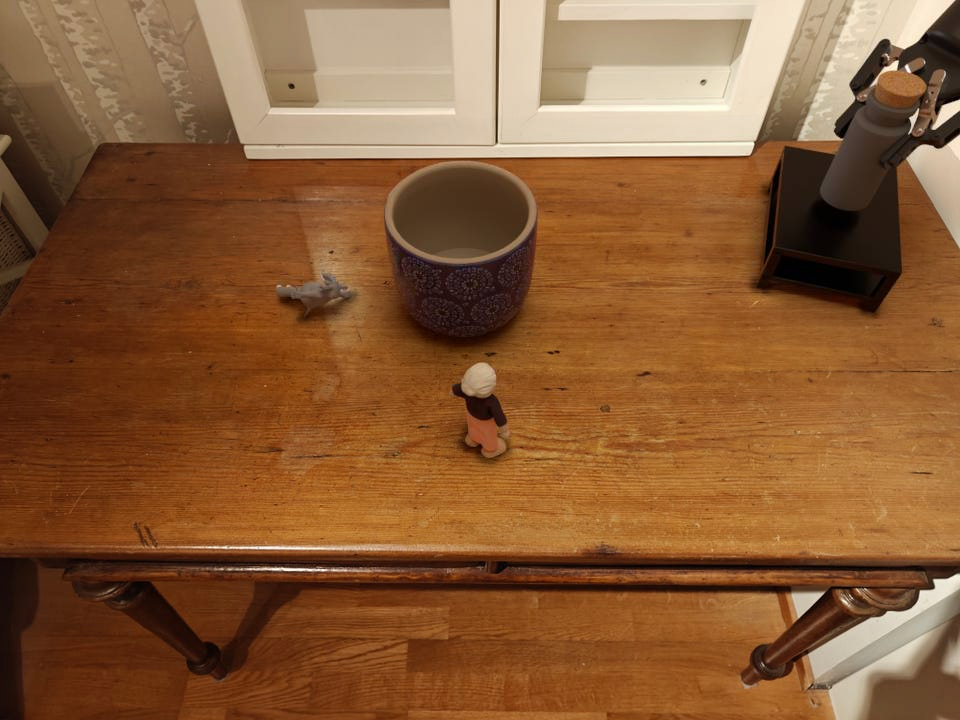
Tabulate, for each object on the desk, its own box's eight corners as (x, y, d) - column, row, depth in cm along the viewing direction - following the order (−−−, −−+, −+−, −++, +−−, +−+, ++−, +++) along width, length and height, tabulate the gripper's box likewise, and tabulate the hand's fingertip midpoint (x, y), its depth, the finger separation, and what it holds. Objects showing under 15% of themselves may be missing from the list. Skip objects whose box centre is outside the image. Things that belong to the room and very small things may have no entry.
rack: (872, 206, 96) (897, 165, 90) (874, 313, 84) (902, 273, 79) (767, 187, 98) (784, 145, 93) (755, 287, 87) (774, 247, 81)
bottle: (820, 207, 83) (875, 94, 71) (818, 176, 87) (870, 63, 75) (872, 215, 83) (936, 101, 70) (868, 183, 86) (929, 70, 74)
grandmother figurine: (521, 441, 74) (527, 372, 64) (504, 469, 72) (506, 402, 62) (460, 410, 77) (455, 339, 66) (441, 437, 75) (433, 367, 64)
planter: (534, 354, 81) (543, 263, 69) (392, 355, 81) (376, 265, 69) (528, 252, 91) (534, 158, 79) (401, 253, 91) (388, 159, 79)
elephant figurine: (313, 268, 90) (366, 270, 85) (312, 314, 91) (366, 319, 86) (250, 266, 81) (306, 269, 77) (250, 317, 82) (306, 323, 77)
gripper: (926, -32, 73) (803, 104, 79) (1054, 30, 66) (907, 174, 72) (935, 6, 79) (819, 130, 85) (1053, 66, 71) (917, 197, 78)
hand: (860, 149), depth 78 cm, fingers closed on bottle, 6 cm apart
